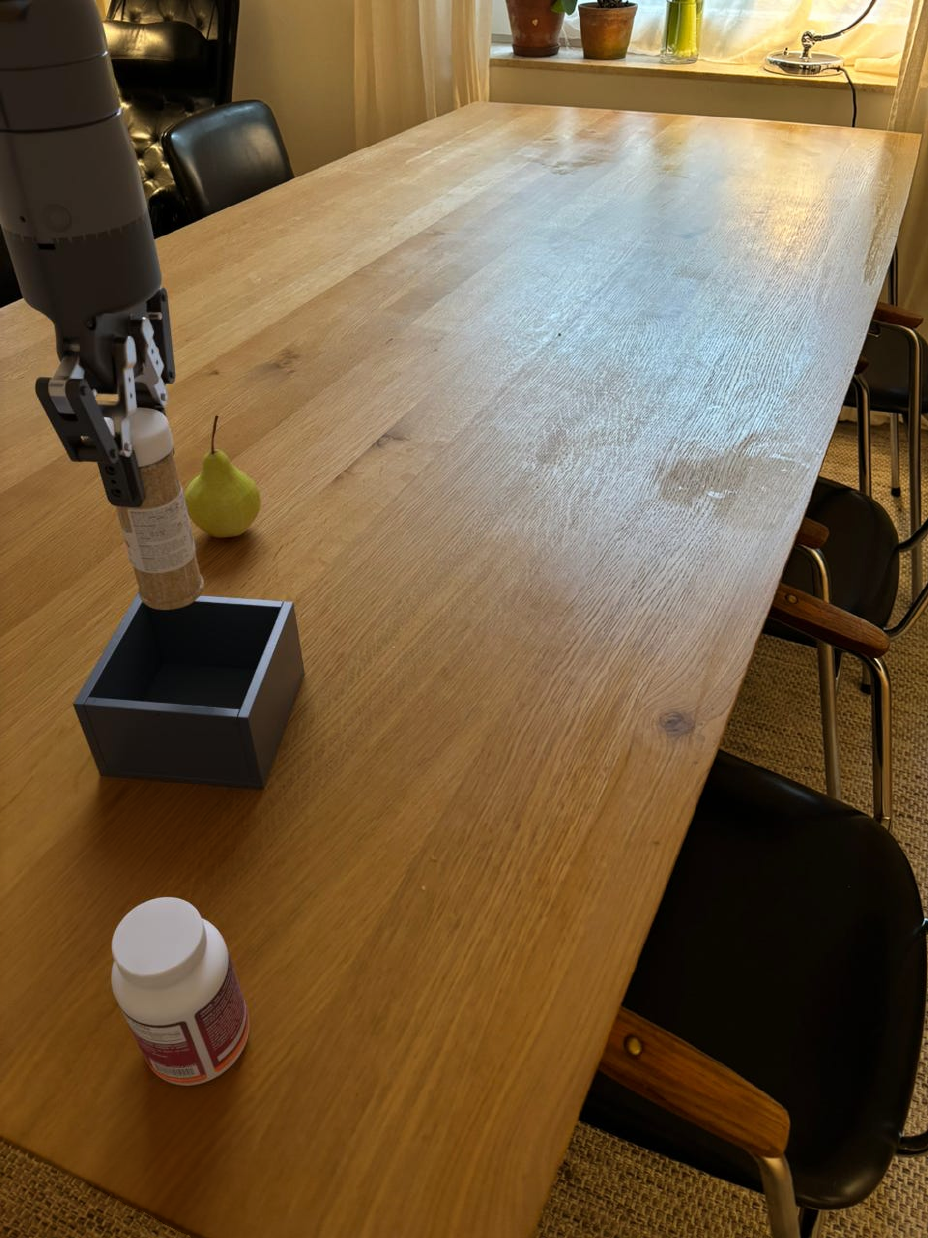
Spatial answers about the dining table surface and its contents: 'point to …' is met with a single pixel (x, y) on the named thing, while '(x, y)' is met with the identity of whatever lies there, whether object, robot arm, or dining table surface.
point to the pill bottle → (178, 991)
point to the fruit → (222, 496)
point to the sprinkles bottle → (159, 519)
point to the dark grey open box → (194, 692)
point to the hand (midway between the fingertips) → (143, 479)
